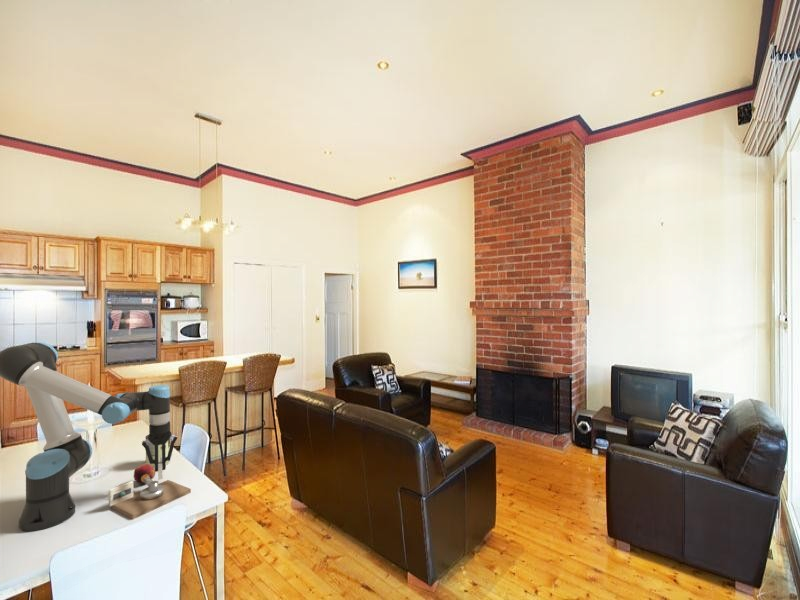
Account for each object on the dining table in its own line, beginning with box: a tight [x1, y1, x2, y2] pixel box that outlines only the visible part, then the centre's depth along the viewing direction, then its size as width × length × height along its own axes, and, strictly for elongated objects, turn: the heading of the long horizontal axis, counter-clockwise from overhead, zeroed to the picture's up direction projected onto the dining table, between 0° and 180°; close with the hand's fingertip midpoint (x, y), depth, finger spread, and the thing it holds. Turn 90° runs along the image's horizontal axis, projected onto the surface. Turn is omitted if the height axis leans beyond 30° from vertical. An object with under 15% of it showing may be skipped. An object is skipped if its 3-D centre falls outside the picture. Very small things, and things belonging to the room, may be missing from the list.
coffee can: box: [145, 434, 171, 469], centre depth 186 cm, size 10×10×14 cm
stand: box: [108, 479, 192, 520], centre depth 153 cm, size 23×16×8 cm
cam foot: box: [139, 474, 164, 500], centre depth 156 cm, size 14×8×5 cm, turn 49°
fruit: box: [133, 463, 156, 485], centre depth 167 cm, size 8×8×8 cm
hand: (160, 478), depth 161 cm, fingers closed
